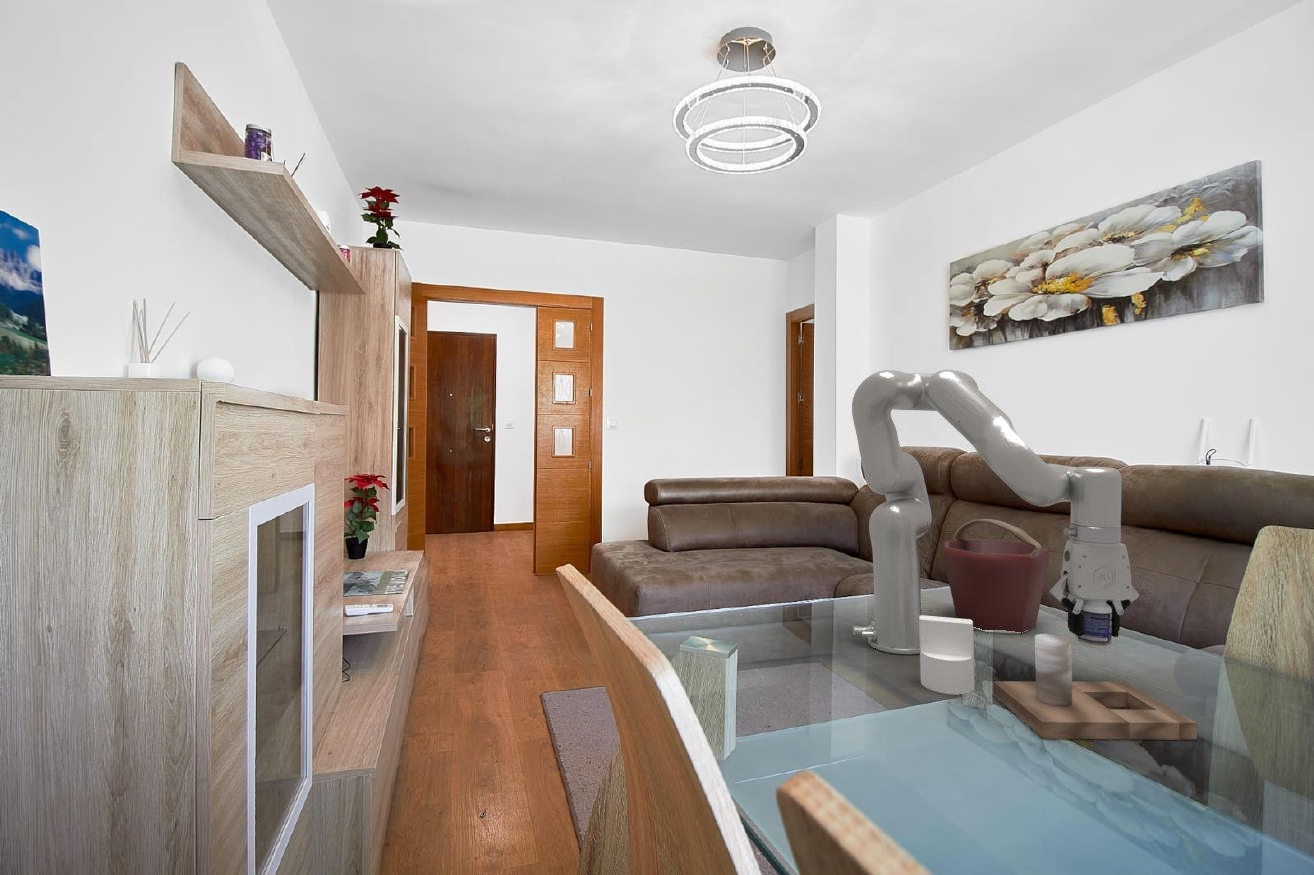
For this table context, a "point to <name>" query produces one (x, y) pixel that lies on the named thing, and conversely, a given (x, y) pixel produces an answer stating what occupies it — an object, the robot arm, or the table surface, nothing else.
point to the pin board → (1086, 702)
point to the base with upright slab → (946, 654)
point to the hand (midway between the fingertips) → (1093, 633)
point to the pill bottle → (1096, 624)
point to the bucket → (996, 578)
